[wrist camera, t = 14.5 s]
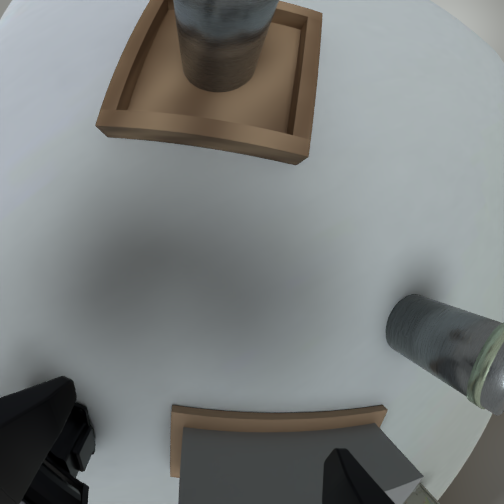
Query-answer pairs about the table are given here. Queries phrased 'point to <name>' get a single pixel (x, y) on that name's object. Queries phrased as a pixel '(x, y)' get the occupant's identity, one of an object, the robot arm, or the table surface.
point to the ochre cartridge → (221, 40)
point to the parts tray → (218, 103)
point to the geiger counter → (420, 496)
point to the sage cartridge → (452, 347)
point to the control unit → (279, 454)
